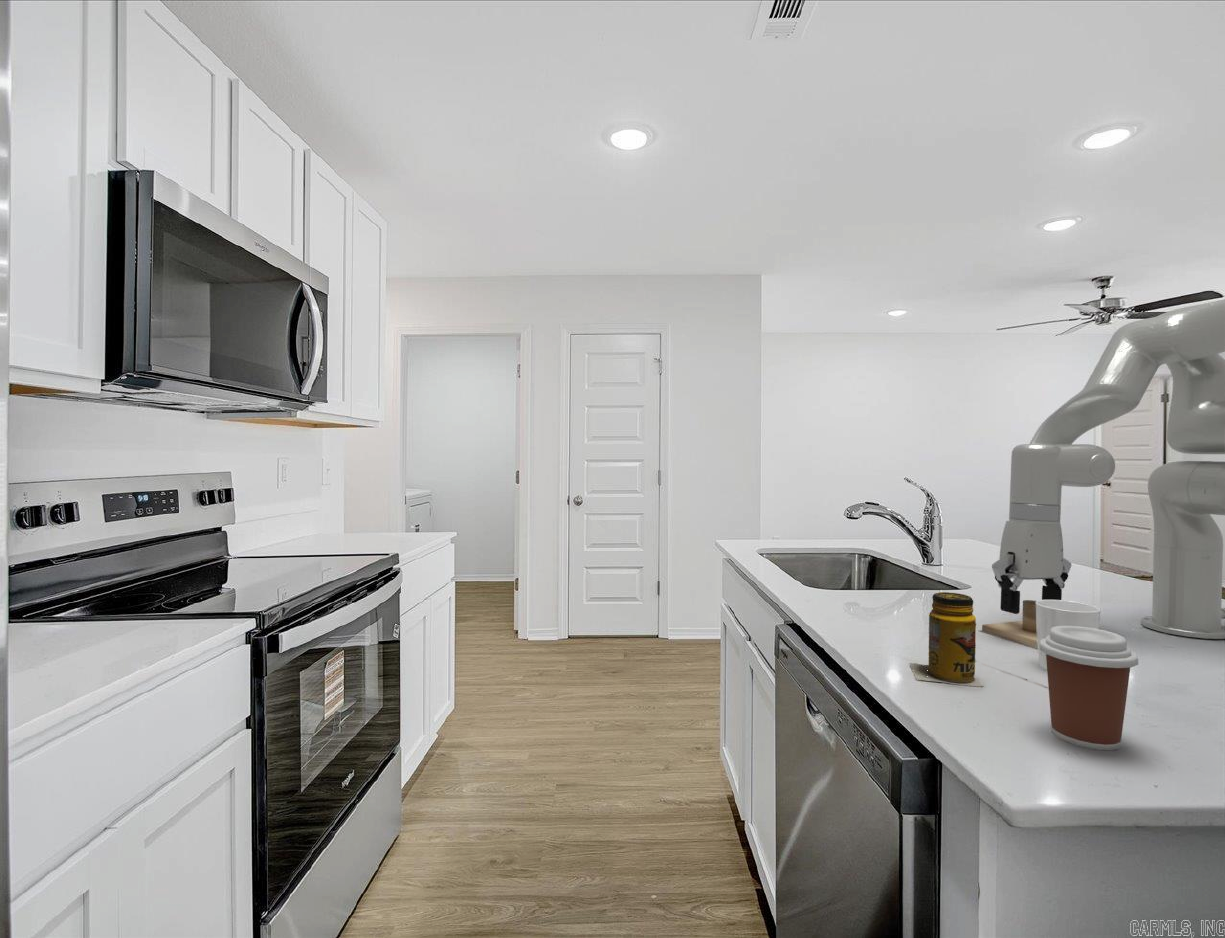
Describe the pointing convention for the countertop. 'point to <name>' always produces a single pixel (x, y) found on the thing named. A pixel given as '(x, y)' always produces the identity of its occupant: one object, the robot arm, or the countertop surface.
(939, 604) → the condiment
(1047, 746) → the countertop surface
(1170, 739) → the countertop surface
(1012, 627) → the lid
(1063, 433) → the robot arm
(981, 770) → the countertop surface
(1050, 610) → the white cup
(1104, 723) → the coffee cup
